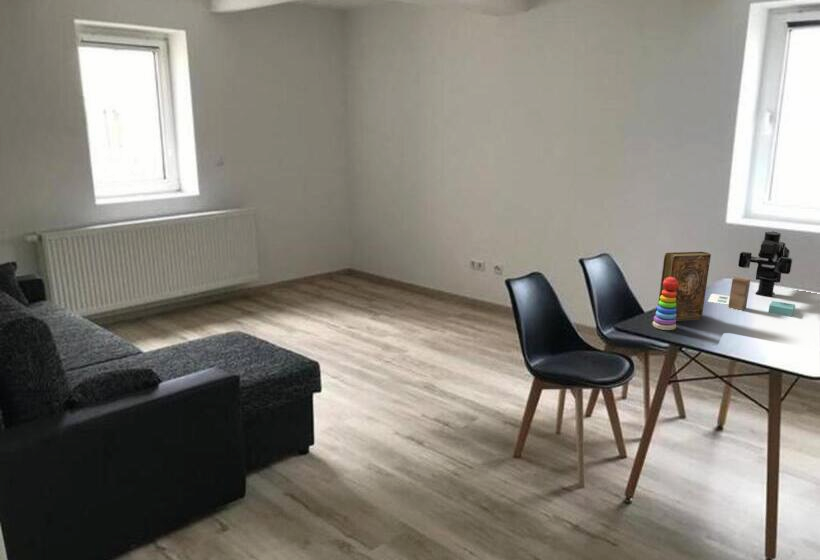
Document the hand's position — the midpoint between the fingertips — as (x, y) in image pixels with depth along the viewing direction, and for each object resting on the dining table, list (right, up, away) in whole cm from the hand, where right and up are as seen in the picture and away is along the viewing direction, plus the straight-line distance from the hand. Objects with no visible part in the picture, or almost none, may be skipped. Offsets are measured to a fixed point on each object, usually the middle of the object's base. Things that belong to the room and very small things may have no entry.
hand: (761, 267), depth 257 cm
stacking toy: (-46, -22, -21) cm, 55 cm away
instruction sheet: (-8, -13, +15) cm, 21 cm away
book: (-36, -19, -10) cm, 42 cm away
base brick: (+7, -17, -1) cm, 19 cm away
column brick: (-8, -16, +4) cm, 18 cm away
